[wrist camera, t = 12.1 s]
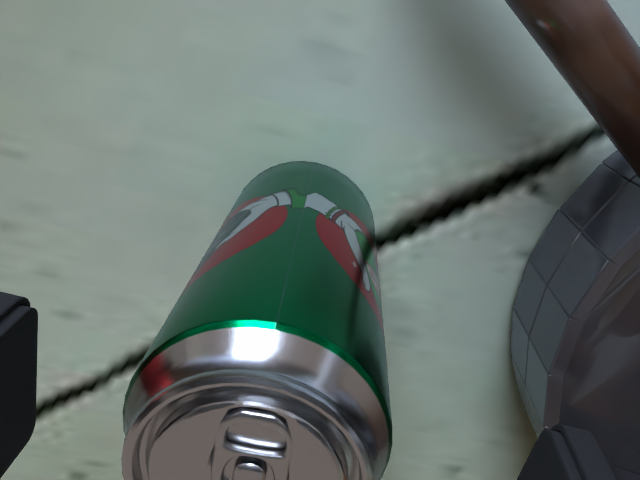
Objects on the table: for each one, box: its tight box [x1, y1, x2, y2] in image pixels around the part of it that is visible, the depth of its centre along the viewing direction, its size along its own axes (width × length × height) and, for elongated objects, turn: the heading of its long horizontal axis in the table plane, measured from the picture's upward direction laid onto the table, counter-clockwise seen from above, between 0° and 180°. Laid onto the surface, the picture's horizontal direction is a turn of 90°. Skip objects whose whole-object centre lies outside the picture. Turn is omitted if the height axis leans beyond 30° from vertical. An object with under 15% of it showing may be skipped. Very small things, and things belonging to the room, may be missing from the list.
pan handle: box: [505, 0, 640, 178], centre depth 15 cm, size 2×12×2 cm, turn 43°
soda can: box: [122, 161, 392, 480], centre depth 15 cm, size 5×5×12 cm
